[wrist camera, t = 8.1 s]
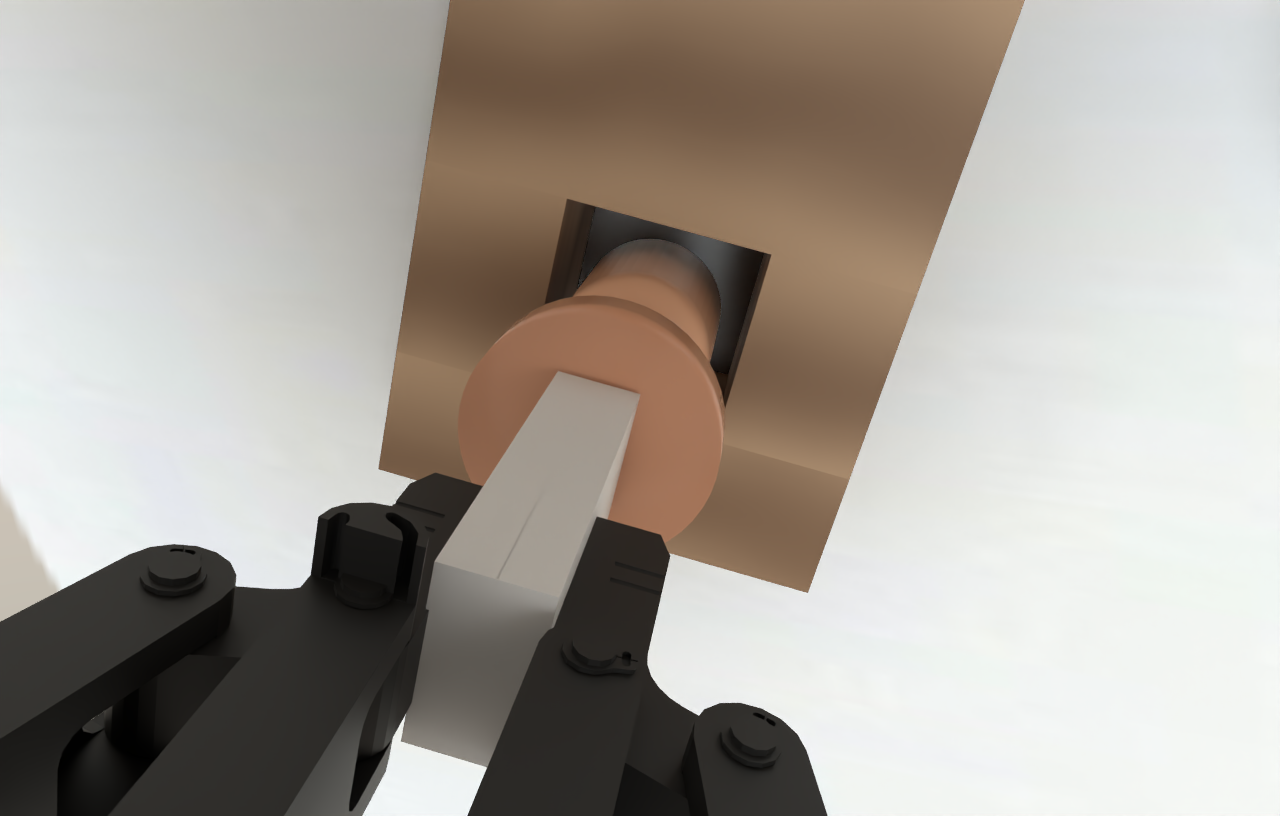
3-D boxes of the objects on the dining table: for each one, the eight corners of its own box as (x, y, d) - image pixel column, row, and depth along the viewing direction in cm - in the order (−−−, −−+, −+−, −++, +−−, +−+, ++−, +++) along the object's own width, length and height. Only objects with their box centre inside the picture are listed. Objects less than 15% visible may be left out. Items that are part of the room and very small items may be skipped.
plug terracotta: (582, 193, 25) (482, 281, 17) (767, 243, 25) (753, 357, 17) (544, 366, 27) (438, 519, 19) (716, 415, 27) (682, 590, 19)
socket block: (606, -559, 23) (557, -702, 18) (1135, -431, 22) (1223, -543, 18) (438, 401, 32) (378, 468, 27) (806, 506, 32) (807, 592, 27)
